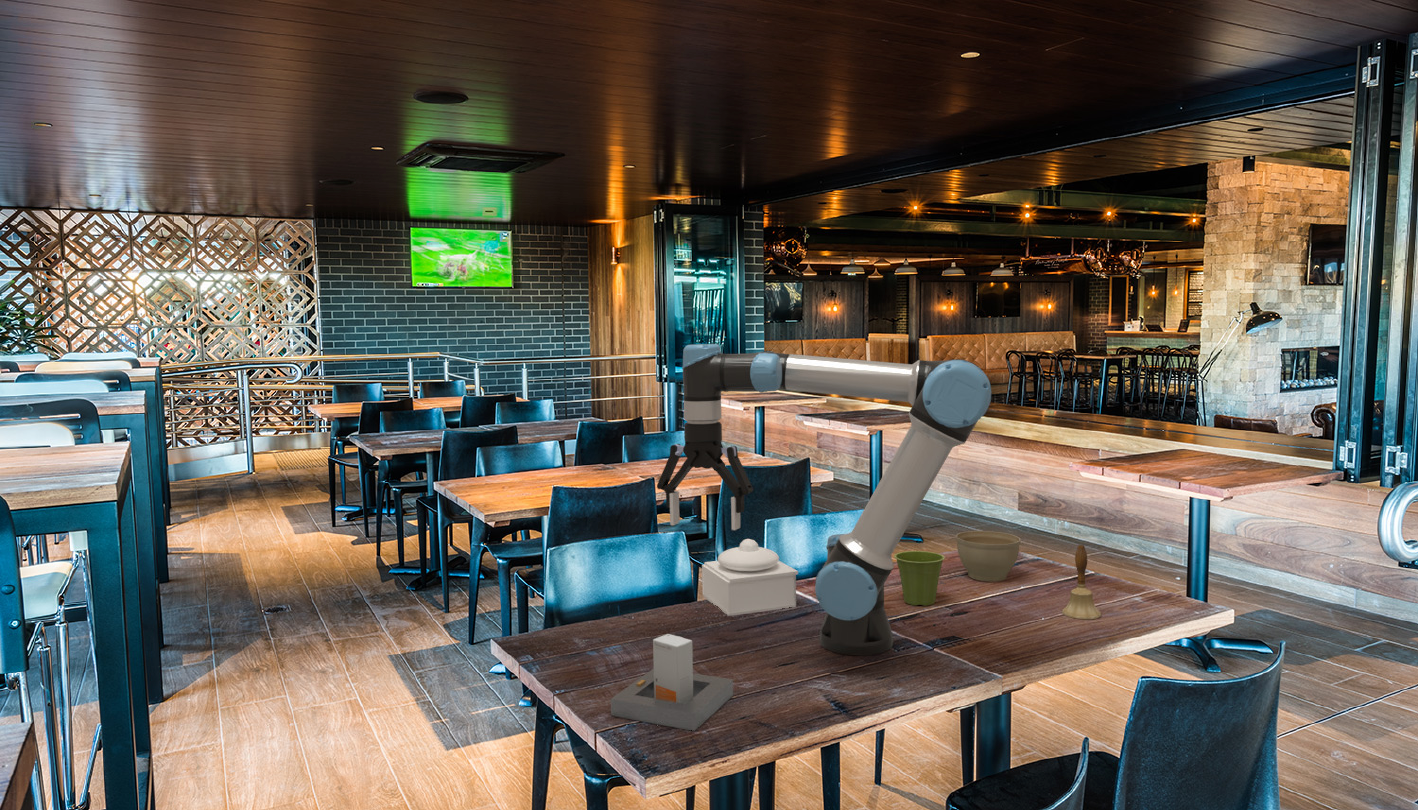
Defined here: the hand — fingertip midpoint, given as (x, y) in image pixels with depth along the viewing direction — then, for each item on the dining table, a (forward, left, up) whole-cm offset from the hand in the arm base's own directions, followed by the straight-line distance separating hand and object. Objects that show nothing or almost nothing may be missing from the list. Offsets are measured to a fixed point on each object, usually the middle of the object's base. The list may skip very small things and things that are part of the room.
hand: (705, 526), depth 184 cm
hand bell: (-68, -56, -27) cm, 92 cm away
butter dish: (+6, -38, -27) cm, 47 cm away
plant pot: (-32, -52, -27) cm, 67 cm away
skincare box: (-5, +25, -27) cm, 37 cm away
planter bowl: (-44, -80, -27) cm, 95 cm away
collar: (-5, +25, -27) cm, 37 cm away
